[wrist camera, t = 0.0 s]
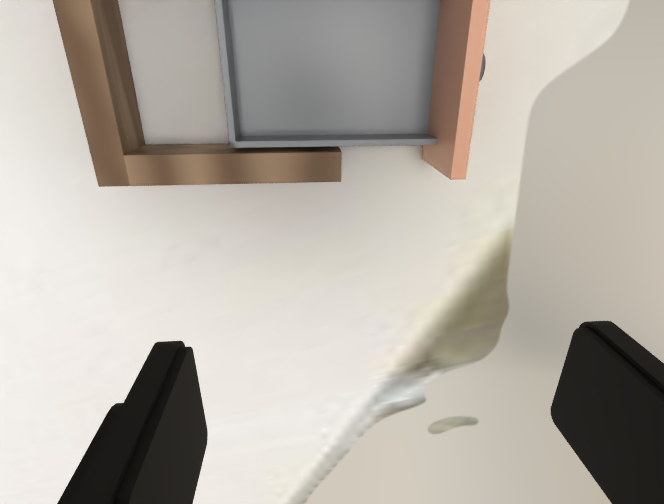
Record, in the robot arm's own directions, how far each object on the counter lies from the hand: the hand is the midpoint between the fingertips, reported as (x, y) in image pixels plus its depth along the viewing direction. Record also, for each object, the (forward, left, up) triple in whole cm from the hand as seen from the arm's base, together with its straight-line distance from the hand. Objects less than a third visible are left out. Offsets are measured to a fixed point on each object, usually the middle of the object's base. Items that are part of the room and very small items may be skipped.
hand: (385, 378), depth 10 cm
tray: (-7, +1, -31) cm, 32 cm away
